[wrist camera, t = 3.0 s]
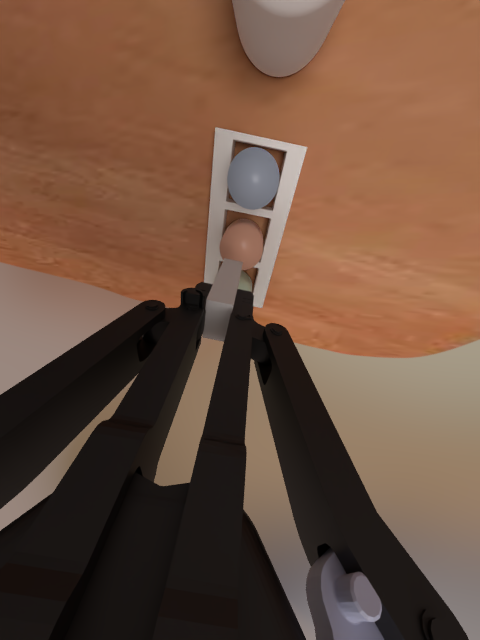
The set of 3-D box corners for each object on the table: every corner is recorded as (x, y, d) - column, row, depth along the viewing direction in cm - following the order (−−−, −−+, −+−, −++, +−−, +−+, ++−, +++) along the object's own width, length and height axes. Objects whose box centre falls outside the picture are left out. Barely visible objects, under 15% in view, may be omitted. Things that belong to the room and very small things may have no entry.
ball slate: (229, 198, 23) (224, 204, 20) (235, 144, 20) (231, 141, 17) (270, 207, 23) (271, 214, 20) (282, 154, 20) (286, 153, 17)
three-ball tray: (206, 288, 34) (202, 296, 32) (219, 130, 22) (215, 127, 20) (261, 299, 34) (262, 307, 32) (303, 148, 23) (307, 147, 21)
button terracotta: (222, 254, 27) (217, 265, 24) (227, 214, 24) (222, 222, 21) (258, 261, 27) (257, 273, 24) (266, 223, 24) (267, 231, 21)
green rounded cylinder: (217, 296, 30) (212, 310, 27) (220, 266, 28) (216, 278, 25) (248, 302, 31) (247, 317, 28) (255, 272, 28) (254, 286, 25)
